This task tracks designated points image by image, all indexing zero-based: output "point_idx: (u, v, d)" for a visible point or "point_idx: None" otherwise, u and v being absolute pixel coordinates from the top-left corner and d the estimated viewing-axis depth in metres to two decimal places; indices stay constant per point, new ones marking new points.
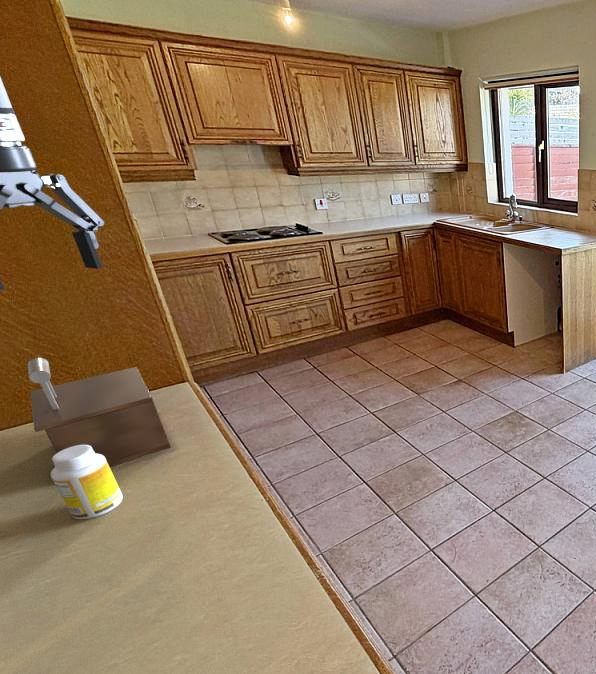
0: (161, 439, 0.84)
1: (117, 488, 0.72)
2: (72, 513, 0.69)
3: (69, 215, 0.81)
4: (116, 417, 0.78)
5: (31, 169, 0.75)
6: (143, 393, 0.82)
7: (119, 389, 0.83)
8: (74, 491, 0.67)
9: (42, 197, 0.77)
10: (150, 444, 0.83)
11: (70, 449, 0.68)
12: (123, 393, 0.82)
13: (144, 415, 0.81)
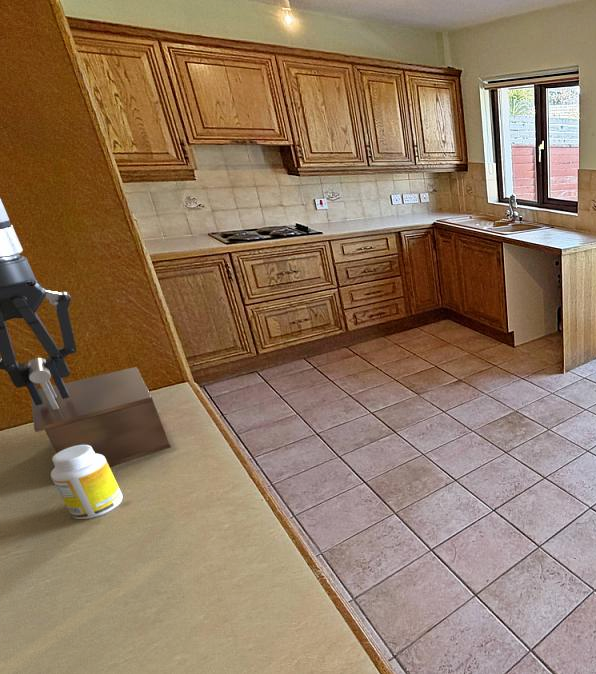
0: (161, 439, 0.84)
1: (117, 488, 0.72)
2: (72, 513, 0.69)
3: (43, 338, 0.74)
4: (116, 417, 0.78)
5: (15, 285, 0.69)
6: (143, 393, 0.82)
7: (119, 389, 0.83)
8: (74, 491, 0.67)
9: (25, 314, 0.72)
10: (150, 444, 0.83)
11: (70, 449, 0.68)
12: (123, 393, 0.82)
13: (144, 415, 0.81)
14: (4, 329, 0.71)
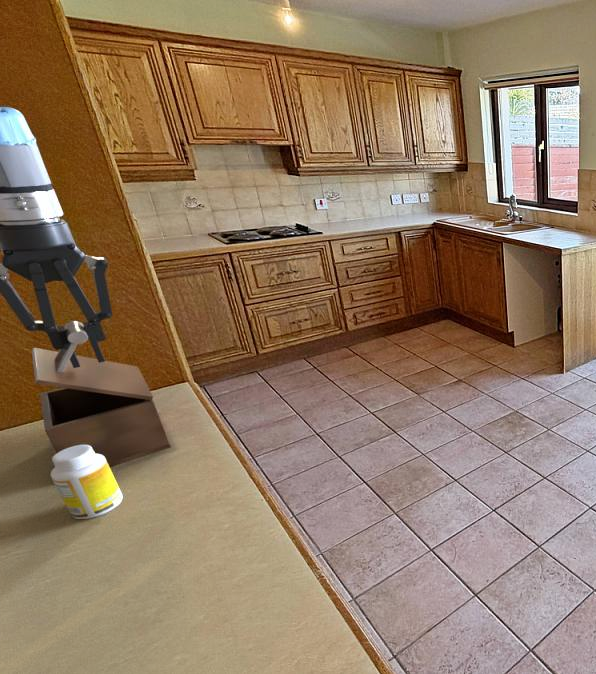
0: (161, 439, 0.84)
1: (117, 488, 0.72)
2: (72, 513, 0.69)
3: (81, 302, 0.76)
4: (116, 417, 0.78)
5: (56, 247, 0.71)
6: (145, 391, 0.82)
7: (121, 378, 0.82)
8: (74, 491, 0.67)
9: (65, 276, 0.73)
10: (150, 444, 0.83)
11: (70, 449, 0.68)
12: (125, 383, 0.81)
13: (144, 415, 0.81)
14: (45, 291, 0.73)
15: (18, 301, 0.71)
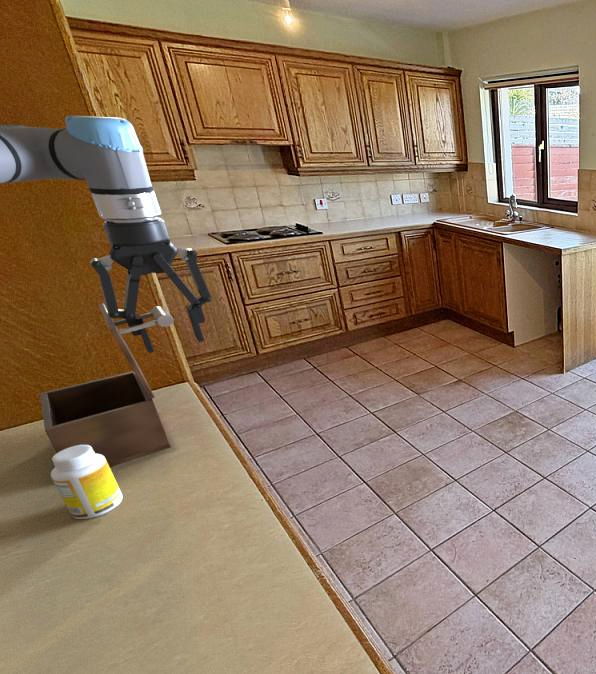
0: (161, 439, 0.84)
1: (117, 488, 0.72)
2: (72, 513, 0.69)
3: (183, 289, 0.85)
4: (116, 417, 0.78)
5: (157, 242, 0.79)
6: None
7: None
8: (74, 491, 0.67)
9: (165, 268, 0.82)
10: (150, 444, 0.83)
11: (70, 449, 0.68)
12: (142, 373, 0.83)
13: (144, 415, 0.81)
14: (137, 282, 0.80)
15: (112, 290, 0.78)
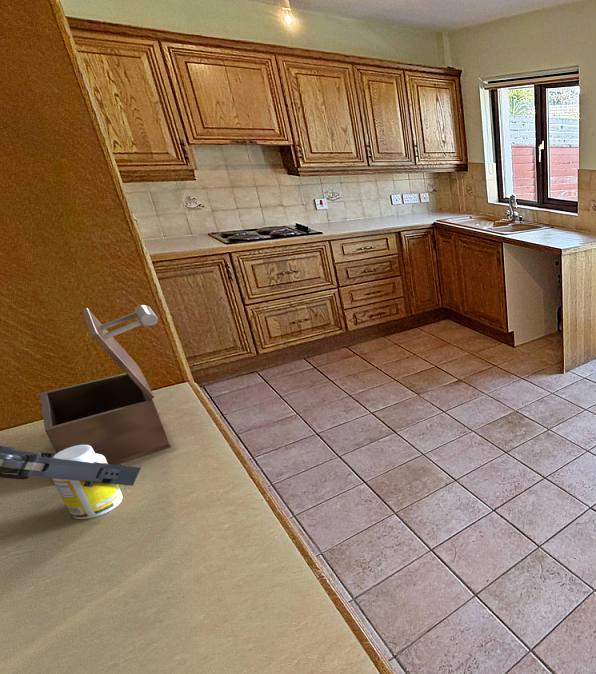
0: (161, 439, 0.84)
1: (117, 488, 0.72)
2: (72, 513, 0.69)
3: None
4: (116, 417, 0.78)
5: None
6: (149, 389, 0.82)
7: (135, 369, 0.83)
8: (74, 491, 0.67)
9: None
10: (150, 444, 0.83)
11: (70, 449, 0.68)
12: (138, 374, 0.82)
13: (144, 415, 0.81)
14: None
15: None
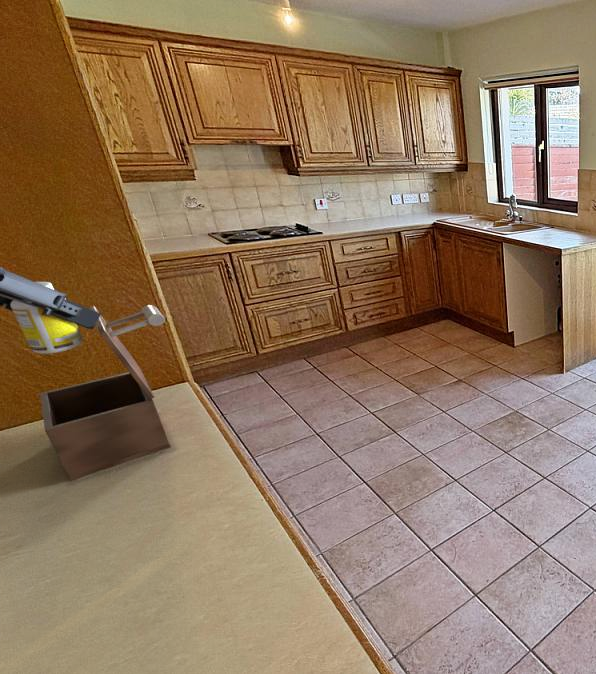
0: (161, 439, 0.84)
1: (77, 329, 0.75)
2: (32, 346, 0.71)
3: (13, 299, 0.66)
4: (116, 417, 0.78)
5: None
6: (149, 389, 0.82)
7: (136, 368, 0.84)
8: (33, 321, 0.70)
9: None
10: (150, 444, 0.83)
11: None
12: (139, 374, 0.83)
13: (144, 415, 0.81)
14: None
15: None
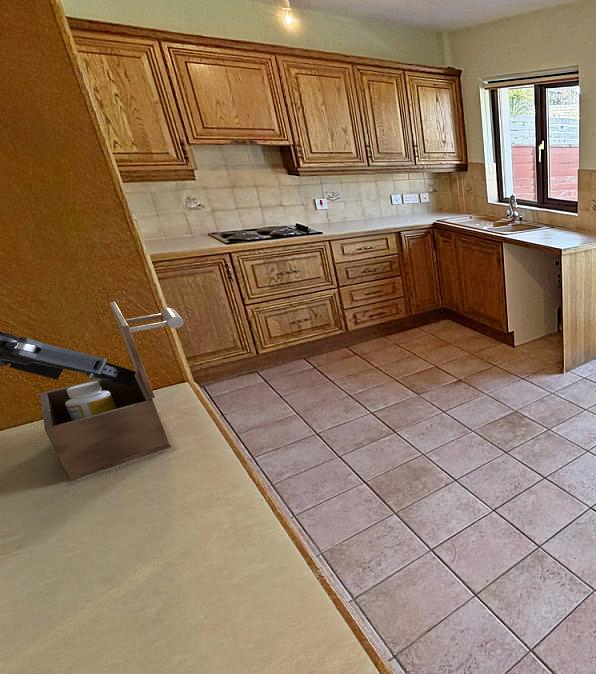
0: (161, 439, 0.84)
1: None
2: None
3: (58, 367, 0.72)
4: (116, 417, 0.78)
5: None
6: None
7: None
8: (84, 414, 0.80)
9: (12, 361, 0.69)
10: (150, 444, 0.83)
11: (81, 384, 0.82)
12: None
13: (144, 415, 0.81)
14: None
15: None
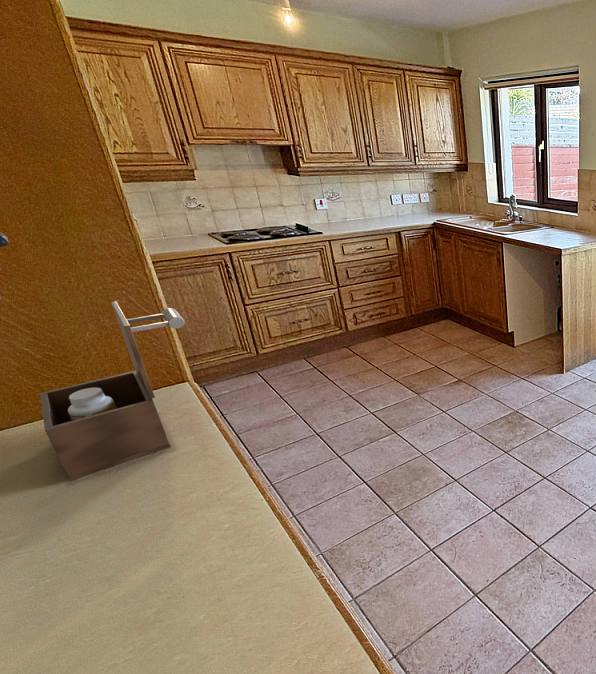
0: (161, 439, 0.84)
1: None
2: None
3: None
4: (116, 417, 0.78)
5: None
6: None
7: None
8: None
9: None
10: (150, 444, 0.83)
11: (83, 390, 0.81)
12: None
13: (144, 415, 0.81)
14: None
15: None
